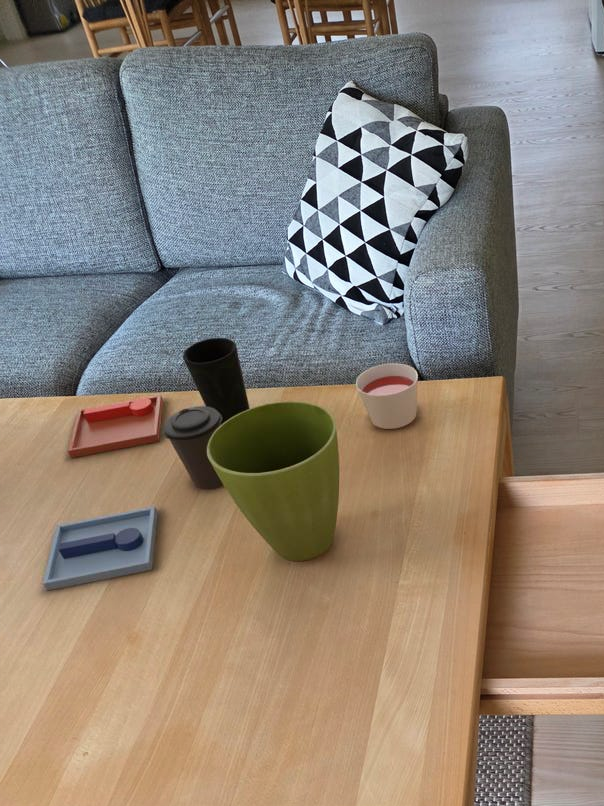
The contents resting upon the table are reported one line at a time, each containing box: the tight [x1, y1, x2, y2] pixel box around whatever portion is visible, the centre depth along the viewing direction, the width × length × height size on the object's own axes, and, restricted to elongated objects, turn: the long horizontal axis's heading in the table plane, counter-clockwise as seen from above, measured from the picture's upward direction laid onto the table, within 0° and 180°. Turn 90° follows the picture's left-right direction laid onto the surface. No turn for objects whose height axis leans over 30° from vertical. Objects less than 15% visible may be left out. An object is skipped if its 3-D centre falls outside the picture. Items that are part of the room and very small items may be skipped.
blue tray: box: [42, 506, 159, 591], centre depth 113 cm, size 13×12×1 cm
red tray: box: [67, 394, 164, 458], centre depth 135 cm, size 13×12×1 cm
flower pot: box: [207, 400, 340, 562], centre depth 105 cm, size 15×15×16 cm
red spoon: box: [84, 397, 153, 423], centre depth 137 cm, size 10×3×2 cm, turn 101°
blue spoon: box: [59, 528, 144, 559], centre depth 113 cm, size 10×3×2 cm, turn 101°
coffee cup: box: [161, 405, 224, 490], centre depth 119 cm, size 8×8×10 cm
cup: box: [182, 337, 251, 425], centre depth 129 cm, size 8×8×12 cm
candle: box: [355, 362, 419, 430], centre depth 128 cm, size 9×9×6 cm
